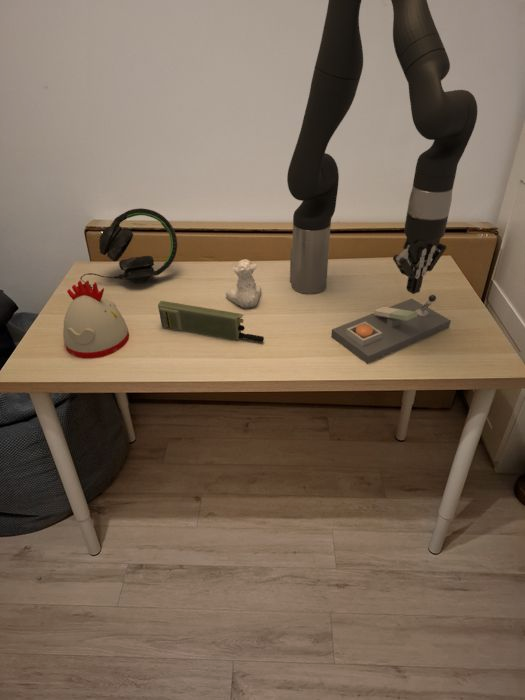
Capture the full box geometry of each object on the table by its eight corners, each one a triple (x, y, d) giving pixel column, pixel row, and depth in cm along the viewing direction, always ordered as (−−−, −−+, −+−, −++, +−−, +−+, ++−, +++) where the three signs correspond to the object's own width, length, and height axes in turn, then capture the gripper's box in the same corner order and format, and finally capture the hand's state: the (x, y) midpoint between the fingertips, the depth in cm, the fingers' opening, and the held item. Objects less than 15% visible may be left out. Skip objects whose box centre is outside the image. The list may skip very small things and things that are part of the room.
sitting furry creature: (260, 291, 126) (259, 248, 119) (269, 307, 120) (269, 263, 113) (225, 296, 125) (222, 253, 117) (232, 313, 118) (229, 268, 111)
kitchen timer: (114, 361, 103) (99, 300, 94) (54, 355, 105) (34, 295, 96) (138, 325, 114) (126, 268, 105) (83, 321, 116) (67, 264, 107)
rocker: (374, 314, 111) (373, 310, 111) (384, 310, 113) (384, 306, 112) (406, 320, 103) (406, 316, 102) (417, 316, 104) (416, 311, 104)
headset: (108, 313, 135) (190, 250, 135) (100, 319, 121) (191, 249, 122) (63, 261, 130) (149, 197, 131) (50, 261, 117) (145, 189, 118)
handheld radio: (167, 322, 115) (266, 339, 109) (160, 329, 113) (261, 348, 106) (162, 298, 111) (265, 315, 105) (155, 306, 109) (260, 323, 102)
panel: (331, 336, 109) (332, 323, 107) (410, 305, 119) (412, 292, 117) (367, 363, 101) (369, 350, 99) (448, 327, 111) (452, 314, 109)
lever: (417, 309, 113) (429, 294, 108) (422, 307, 113) (434, 292, 109) (421, 314, 112) (433, 299, 107) (426, 312, 113) (438, 297, 108)
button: (351, 334, 106) (352, 327, 105) (364, 329, 107) (365, 322, 106) (362, 342, 103) (363, 335, 102) (375, 337, 105) (376, 329, 104)
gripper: (437, 198, 96) (421, 276, 106) (388, 211, 90) (376, 292, 101) (468, 209, 91) (448, 290, 101) (417, 224, 85) (402, 308, 95)
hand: (412, 291), depth 101 cm, fingers closed
